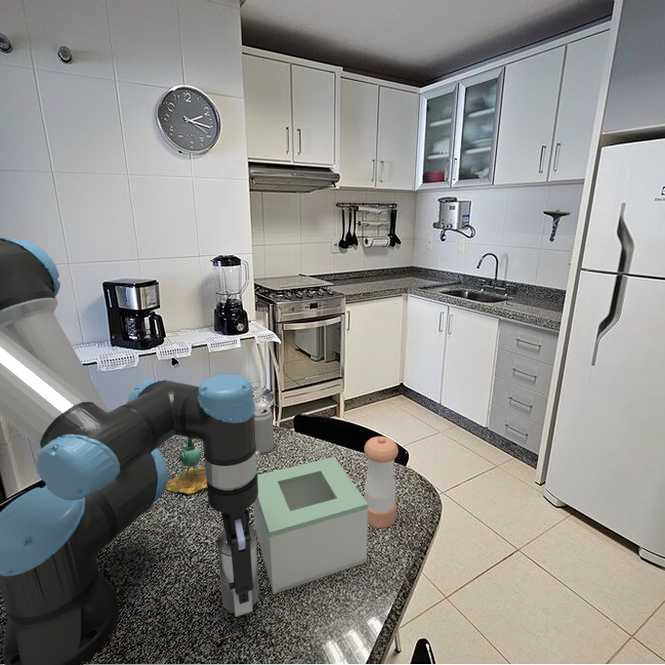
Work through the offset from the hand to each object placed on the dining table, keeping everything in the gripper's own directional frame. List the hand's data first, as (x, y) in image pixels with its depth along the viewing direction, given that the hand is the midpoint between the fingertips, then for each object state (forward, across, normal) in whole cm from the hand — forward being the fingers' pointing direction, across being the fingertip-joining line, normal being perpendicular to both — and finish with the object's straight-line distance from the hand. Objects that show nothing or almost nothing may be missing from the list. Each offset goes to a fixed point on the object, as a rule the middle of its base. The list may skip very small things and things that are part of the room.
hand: (240, 594), depth 67 cm
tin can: (0, 0, 0) cm, 0 cm away
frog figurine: (+3, +37, +5) cm, 37 cm away
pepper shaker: (+2, +10, -32) cm, 33 cm away
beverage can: (+3, +46, -14) cm, 48 cm away
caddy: (+2, +8, -14) cm, 16 cm away
